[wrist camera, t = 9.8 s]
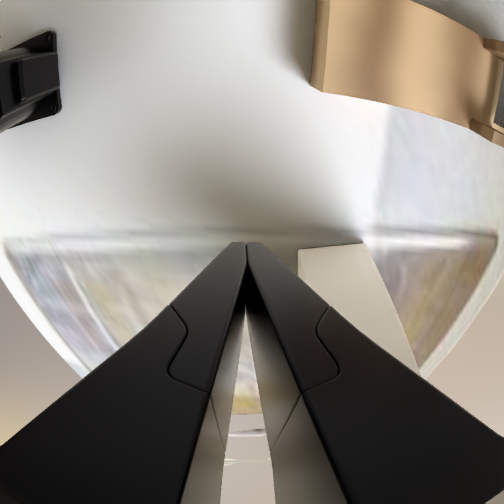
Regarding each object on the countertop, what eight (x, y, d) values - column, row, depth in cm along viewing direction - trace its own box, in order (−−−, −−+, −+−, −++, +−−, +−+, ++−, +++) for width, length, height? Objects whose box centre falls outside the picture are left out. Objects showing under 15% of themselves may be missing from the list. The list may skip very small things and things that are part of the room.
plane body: (310, 85, 15) (335, 100, 11) (317, -14, 11) (346, -35, 7) (498, 137, 16) (539, 164, 12) (512, 68, 12) (556, 86, 8)
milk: (297, 296, 28) (326, 537, 11) (297, 247, 24) (342, 551, 7) (357, 289, 27) (411, 514, 10) (366, 241, 23) (453, 512, 6)
